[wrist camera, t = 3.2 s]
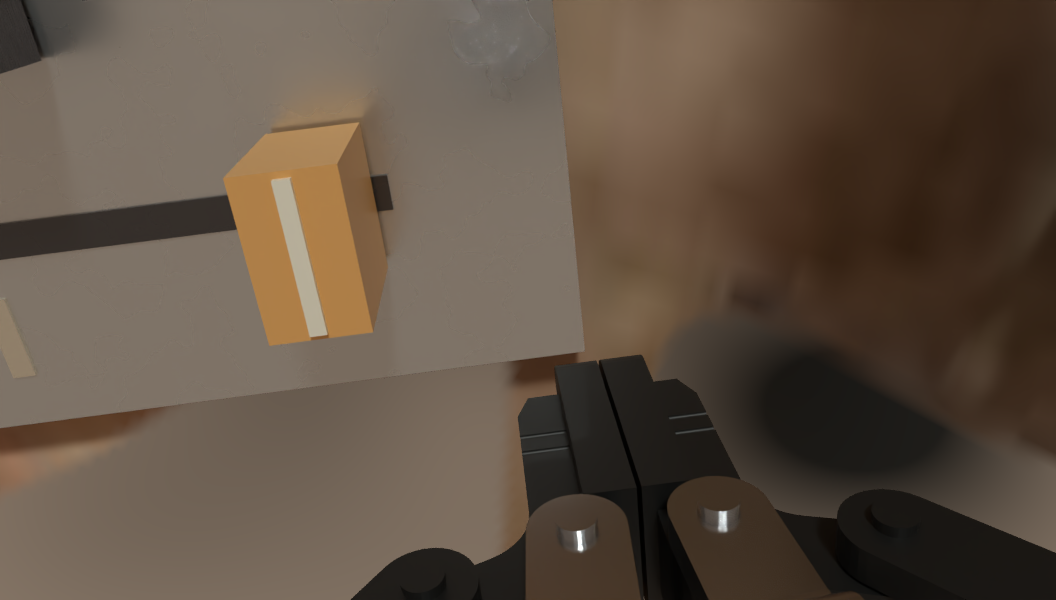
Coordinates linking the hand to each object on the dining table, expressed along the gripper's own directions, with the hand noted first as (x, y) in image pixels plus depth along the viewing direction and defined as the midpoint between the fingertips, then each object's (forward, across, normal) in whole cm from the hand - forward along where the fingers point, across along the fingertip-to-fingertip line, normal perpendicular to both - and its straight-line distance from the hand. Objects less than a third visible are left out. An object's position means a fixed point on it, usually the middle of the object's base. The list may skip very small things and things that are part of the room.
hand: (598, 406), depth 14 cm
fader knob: (+14, +7, 0) cm, 16 cm away
